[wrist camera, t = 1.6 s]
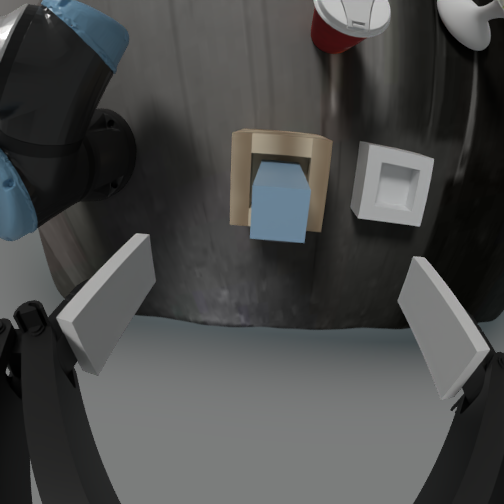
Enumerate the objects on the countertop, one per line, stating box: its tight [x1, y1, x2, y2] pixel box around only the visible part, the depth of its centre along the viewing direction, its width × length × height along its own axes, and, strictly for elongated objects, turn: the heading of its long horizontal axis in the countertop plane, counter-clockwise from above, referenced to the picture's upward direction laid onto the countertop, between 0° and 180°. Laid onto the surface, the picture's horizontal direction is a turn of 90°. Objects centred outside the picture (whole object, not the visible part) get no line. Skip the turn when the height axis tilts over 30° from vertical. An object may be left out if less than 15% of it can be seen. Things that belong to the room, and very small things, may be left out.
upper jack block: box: [230, 129, 333, 232], centre depth 32 cm, size 10×10×10 cm
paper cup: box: [311, 0, 391, 54], centre depth 21 cm, size 8×8×14 cm
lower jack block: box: [350, 141, 434, 227], centre depth 34 cm, size 10×10×4 cm
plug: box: [250, 159, 311, 243], centre depth 25 cm, size 4×5×12 cm
